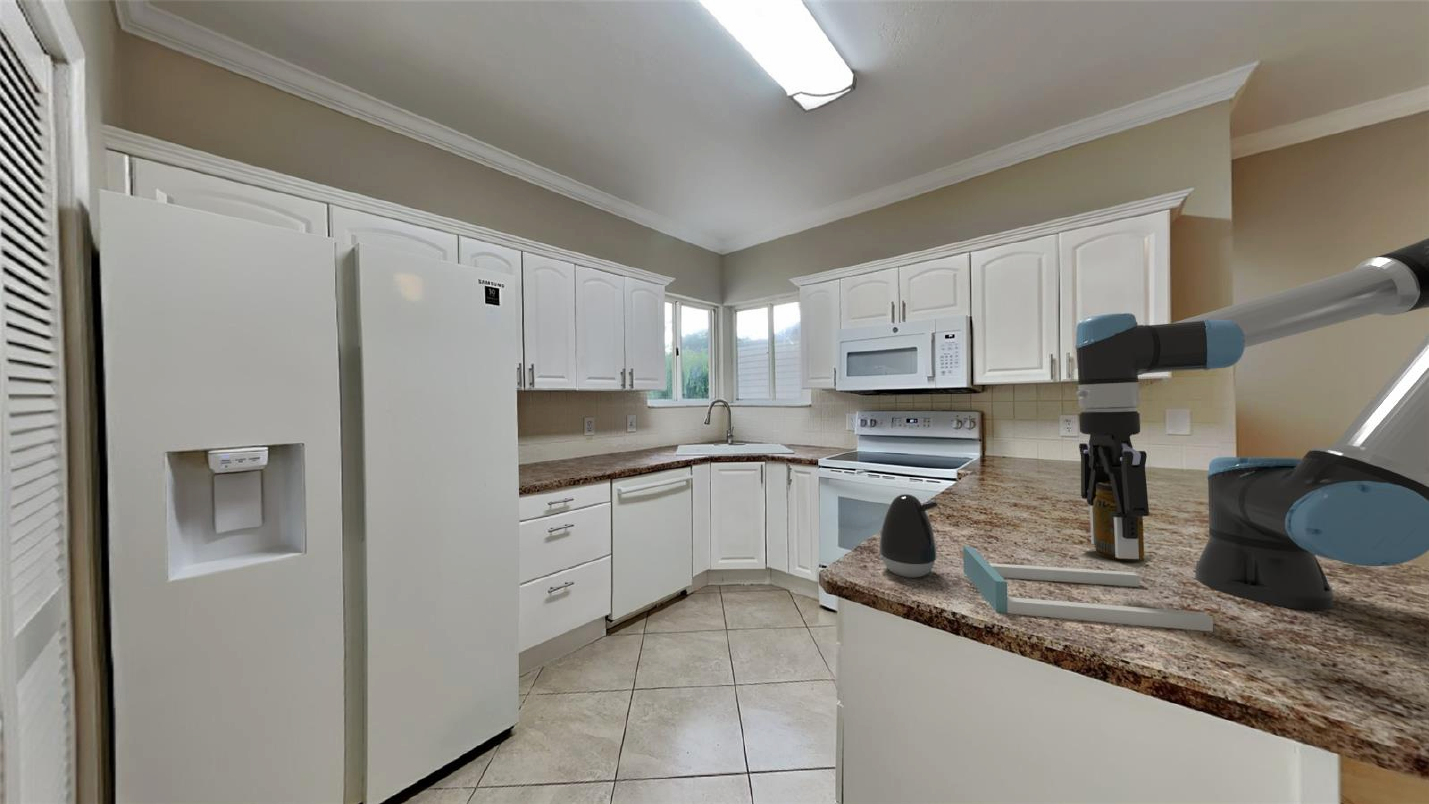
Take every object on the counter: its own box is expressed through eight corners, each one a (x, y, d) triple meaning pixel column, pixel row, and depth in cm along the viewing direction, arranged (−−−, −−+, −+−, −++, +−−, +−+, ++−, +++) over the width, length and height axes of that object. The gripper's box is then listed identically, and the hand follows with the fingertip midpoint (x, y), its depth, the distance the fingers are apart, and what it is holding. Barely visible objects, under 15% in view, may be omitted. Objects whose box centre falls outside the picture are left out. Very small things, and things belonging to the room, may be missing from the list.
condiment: (1154, 558, 73) (1151, 483, 73) (1137, 570, 69) (1134, 491, 69) (1097, 547, 79) (1094, 478, 80) (1078, 557, 75) (1075, 484, 75)
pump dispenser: (934, 588, 81) (933, 502, 81) (873, 576, 86) (872, 496, 86) (941, 569, 89) (940, 492, 89) (886, 560, 95) (885, 487, 95)
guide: (1133, 583, 81) (1133, 555, 81) (1213, 631, 65) (1212, 596, 65) (963, 571, 88) (963, 546, 88) (996, 613, 71) (995, 581, 71)
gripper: (1053, 409, 85) (1058, 533, 85) (1117, 412, 66) (1123, 571, 66) (1100, 408, 83) (1105, 534, 83) (1179, 410, 65) (1186, 573, 65)
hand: (1113, 550), depth 75 cm, fingers closed on condiment, 6 cm apart
